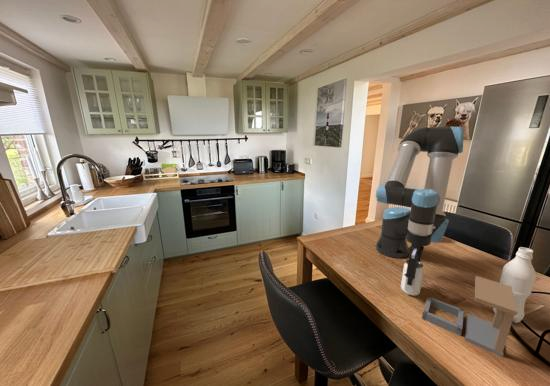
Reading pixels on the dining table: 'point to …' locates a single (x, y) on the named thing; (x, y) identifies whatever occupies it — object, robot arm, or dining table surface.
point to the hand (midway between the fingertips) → (410, 286)
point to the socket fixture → (476, 328)
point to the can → (417, 279)
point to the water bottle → (519, 279)
